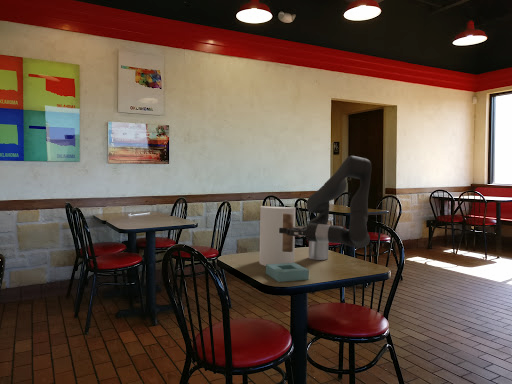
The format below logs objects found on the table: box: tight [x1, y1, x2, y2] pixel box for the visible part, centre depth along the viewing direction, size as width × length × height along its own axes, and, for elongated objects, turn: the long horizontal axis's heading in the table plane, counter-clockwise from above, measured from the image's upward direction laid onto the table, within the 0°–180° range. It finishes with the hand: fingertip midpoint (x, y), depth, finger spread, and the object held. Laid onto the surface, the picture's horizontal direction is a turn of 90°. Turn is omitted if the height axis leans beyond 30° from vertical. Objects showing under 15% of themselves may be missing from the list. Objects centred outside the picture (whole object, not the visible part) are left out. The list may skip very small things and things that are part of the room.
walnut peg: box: [282, 214, 293, 252], centre depth 170 cm, size 4×4×16 cm
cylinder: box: [258, 205, 297, 267], centre depth 195 cm, size 17×17×28 cm
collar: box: [265, 262, 310, 283], centre depth 171 cm, size 14×14×4 cm
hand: (282, 229), depth 172 cm, fingers closed on walnut peg, 4 cm apart
